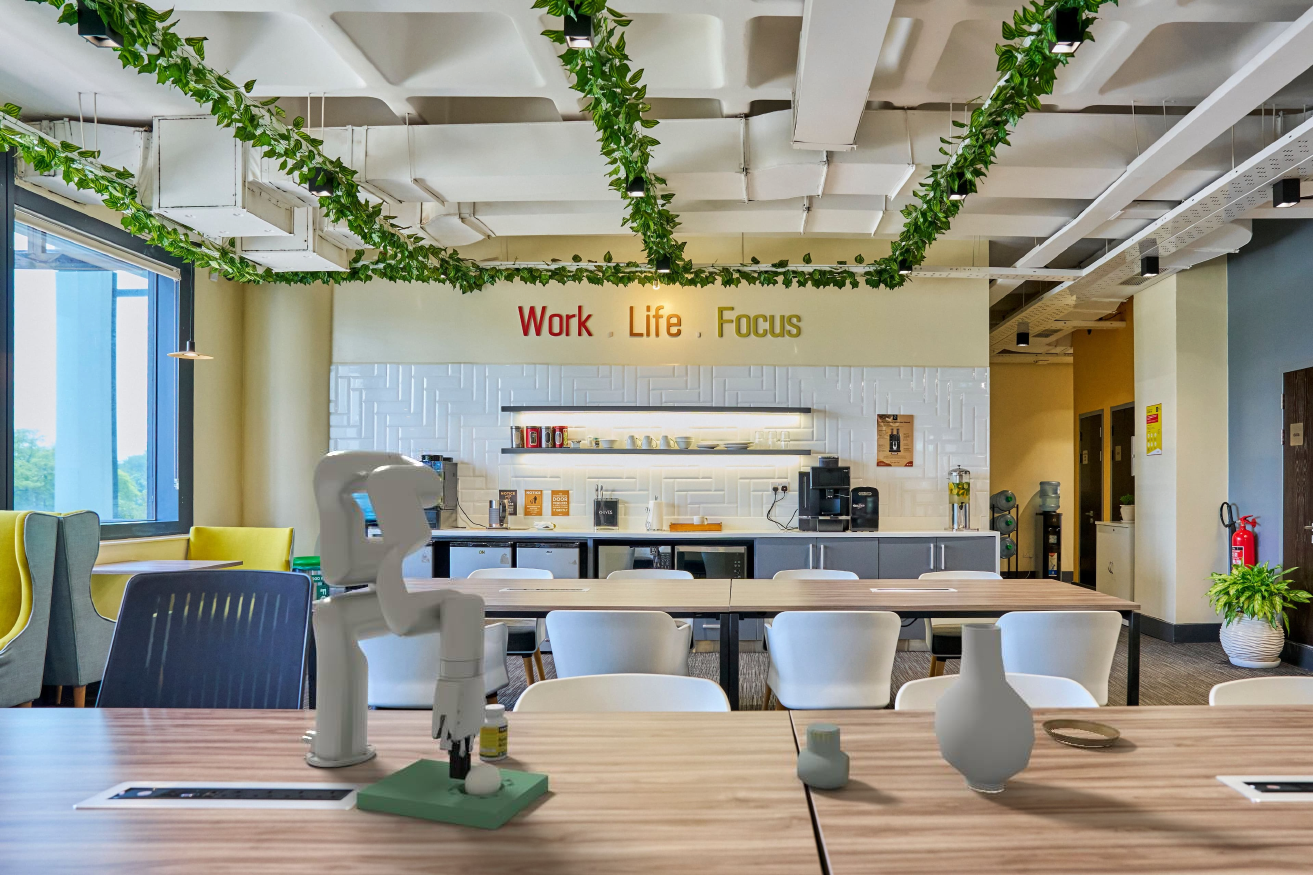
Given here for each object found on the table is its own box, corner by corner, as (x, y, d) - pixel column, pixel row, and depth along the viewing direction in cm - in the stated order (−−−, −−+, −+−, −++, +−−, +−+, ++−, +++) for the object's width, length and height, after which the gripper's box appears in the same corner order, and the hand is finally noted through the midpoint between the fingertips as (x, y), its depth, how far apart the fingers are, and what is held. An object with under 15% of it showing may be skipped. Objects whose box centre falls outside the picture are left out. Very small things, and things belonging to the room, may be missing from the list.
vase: (1039, 779, 150) (1035, 623, 152) (1032, 811, 136) (1028, 637, 137) (943, 765, 158) (940, 616, 160) (927, 793, 144) (924, 629, 145)
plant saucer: (1036, 744, 172) (1036, 731, 172) (1046, 726, 184) (1046, 714, 184) (1118, 756, 164) (1118, 743, 164) (1123, 737, 176) (1122, 725, 176)
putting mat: (356, 807, 137) (356, 792, 137) (421, 772, 154) (422, 758, 154) (495, 829, 128) (495, 812, 128) (548, 789, 145) (548, 774, 145)
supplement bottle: (501, 762, 159) (501, 710, 160) (474, 760, 160) (475, 709, 161) (511, 753, 165) (512, 703, 165) (485, 751, 166) (486, 702, 166)
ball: (493, 804, 135) (462, 809, 137) (511, 790, 141) (481, 796, 143) (484, 766, 136) (454, 773, 138) (503, 755, 142) (473, 761, 144)
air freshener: (805, 771, 155) (805, 716, 155) (851, 776, 152) (850, 720, 153) (795, 791, 144) (794, 733, 145) (843, 797, 142) (842, 737, 142)
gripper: (466, 657, 150) (465, 761, 149) (416, 675, 136) (414, 789, 135) (503, 660, 148) (501, 766, 147) (456, 679, 134) (454, 795, 133)
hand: (459, 777), depth 141 cm, fingers closed
